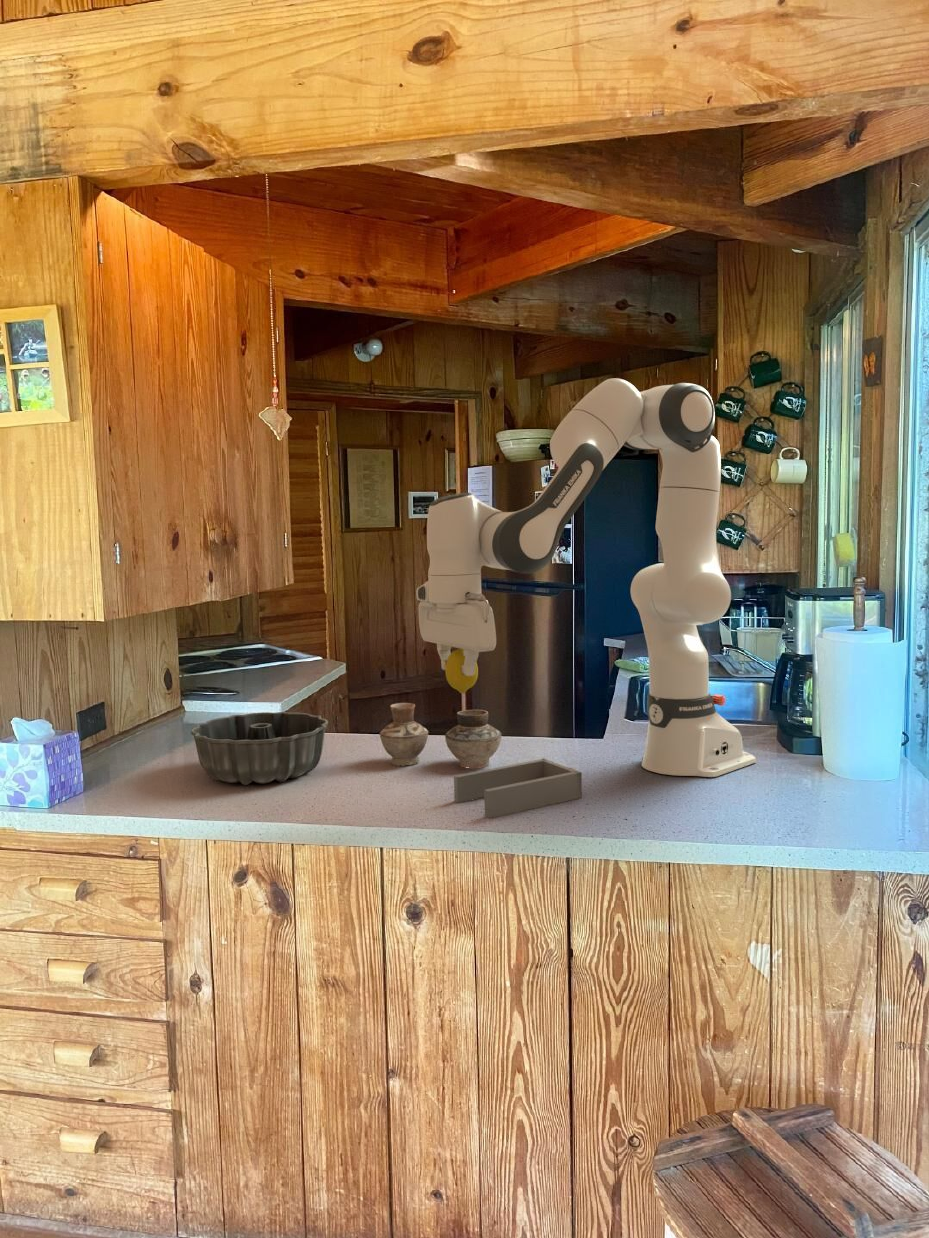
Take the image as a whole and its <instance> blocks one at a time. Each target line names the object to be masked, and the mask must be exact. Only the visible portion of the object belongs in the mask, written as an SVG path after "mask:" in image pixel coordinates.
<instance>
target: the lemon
mask: <svg viewBox="0 0 929 1238" xmlns="http://www.w3.org/2000/svg"><path fill="white" fill-rule="evenodd" d="M464 661H465V656H464V652H463V649H460V648H457V649H455V650H454V651H452V652H451V654H450V655H449V657H448V659H447V662H446V668H445V670H444V671H445V673H444V674H445V677H446V681H447V682H448V685H450V687H451V688H453V689H454V690H456V691H458V692H459V694H465V693H466V692H467V691H468V690H469V689H471V688H473V686H474V685H475V684H476V682H477V680H478V677H479V667H478V662H477V661H476V664H475V675H473V676H465V675H463V674H462V669H461V665H464Z"/></svg>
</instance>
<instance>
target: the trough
mask: <svg viewBox="0 0 929 1238" xmlns="http://www.w3.org/2000/svg"><path fill="white" fill-rule="evenodd" d="M453 796H454V802H455V801H456V803H457V802H458V803H463V801H464V802H467V801H466V800H469V801H472V799H474V800H477V799H476V798H478V799H482V798H481V797H483V798H484V817H485V818H488V819H492V818H495V817H501V816H505V815H509V814H515V813H519V812H523V811H524V812H525V811H528V810H531V809H532V810H533V809H537V808H542V807H545V806H550V805H555V804H559V803H564V802H567V801H573V800H578V799H582V797H583V783H582V771H579V770H575V769H573V768H570V767H568V766H565V765H562V764H559V763H557V762H554V761H551V760H548V759H546V758H540V759H539V758H538V759H535V760H534V759H533V760H530V761H529V760H528V761H525V762H524V761H523V762H520V763H519V762H518V763H514V764H509V765H503V766H499V767H498V766H497V767H493V768H492V767H491V768H489V769H488V768H487V769H483V770H477V771H473V772H472V771H471V772H468V773H467V772H465V773H462V774H456V775H453ZM458 803H457V804H458Z"/></svg>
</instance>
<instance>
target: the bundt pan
mask: <svg viewBox="0 0 929 1238" xmlns="http://www.w3.org/2000/svg"><path fill="white" fill-rule="evenodd" d="M328 725H329V721H328V719H326V718H322V716H321V715H313V714H310V713H304V712H287V711H277V712H268V711H267V712H265V711H264V712H252V713H251V712H250V713H244V714H232V715H230V716H226V717H225V716H224V717H218V718H213V719H210V720H207V721H205V722H203V723H197V724H195V727H193V728H192V729H191V731H190V734H191V736H193V738H194V743H195V747H196V752H197V756H198V760H199V764H200V765H201V767H202V769H203V770H204V772H205V773H206V774H207V776H209V777H210V778H211V779H213V780H216V781H221V782H225V783H229V784H235V783H236V784H237V783H241V784H242V785H244V786H249V785H250V784H251V783H253V782H254V783H257V784H269V783H270V782H272V781H274V780H275V781H276V782H279V783H283V782H285V781H286V780H287V779H294V778H299V777H300V776H303V775H306V774H308V773H310V772H312V771H313V770H314V769H316V767H317V766H318V765H319V763H320V761H321V758H322V753H323V748H324V741H325V740H324V739H325V734H326V733H325V732H326V730H327V726H328Z"/></svg>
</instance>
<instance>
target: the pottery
mask: <svg viewBox="0 0 929 1238" xmlns="http://www.w3.org/2000/svg"><path fill="white" fill-rule="evenodd" d="M415 707H416V704H415V703H412V702H411V703H410V702H398V703H393V704H390V710H391V715H392V722H391V723H389V724H388V725H386V726H385V727H384V728H383V729H382V730H381V731H380V732H379V738H380V740H381V744H382V746H383V748H384V750H385V751H386V753H387V754H388V755H389V756H390V757H392V758H391V762H390V764H391V763H392V764H391V765H393V764H394V765H393V766H396V765H401V766H400V767H406V766H405V765H409V766H413V764H414V765H417V764H419V763H420V759H419V755H420V754H421V753H422V752H423V750H424V749H425V747H426V744H427V741H428V739H429V738H428V736H429V730H428V729H427V728H426V727H424V726H423V725H422V724H420V723H418V722H417V721H414V715H415ZM456 719H457V722H458V724H457V725H455V726H453V727H452V728H451V729H450V730H448V731H447V732H445V735H444V738H445V743H446V746H447V748H448V749H449V752H450V753H451V754H452V755H453V756H454V758H456V759H457V760H459V766H460V767H461V768H462V767H469V768H476V769H480V768H479V767H483V768H485V767H488V766H489V764H490V759H491V758H492V756H494V755H495V754H496V752H497V751H498V748H499V747H500V744H501V741H502V732H501V731H500V730H498V729H497V728H496V727H494V726H493V725H490V724H488V720H489V712H488V711H487V710H483V709H466V710H461V711H460V710H459V711H458V712H456ZM418 762H419V763H418ZM416 763H417V764H416Z"/></svg>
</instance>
